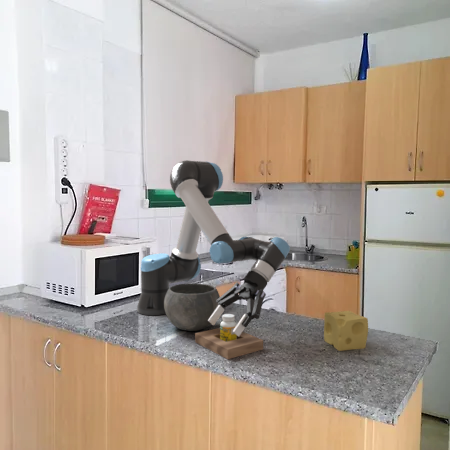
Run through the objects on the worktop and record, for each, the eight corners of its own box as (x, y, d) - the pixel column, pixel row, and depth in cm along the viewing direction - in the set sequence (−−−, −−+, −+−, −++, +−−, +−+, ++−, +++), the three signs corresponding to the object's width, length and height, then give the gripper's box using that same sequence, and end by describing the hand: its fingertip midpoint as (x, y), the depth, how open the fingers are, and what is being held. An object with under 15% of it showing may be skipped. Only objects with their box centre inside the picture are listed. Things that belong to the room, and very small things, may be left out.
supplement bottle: (240, 344, 137) (240, 315, 136) (228, 348, 133) (228, 318, 132) (228, 340, 140) (228, 312, 140) (216, 344, 137) (216, 315, 136)
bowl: (152, 328, 154) (152, 287, 153) (195, 317, 169) (195, 279, 168) (188, 342, 140) (188, 297, 139) (231, 328, 154) (231, 288, 153)
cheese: (338, 351, 132) (339, 320, 132) (322, 340, 143) (322, 311, 142) (367, 348, 135) (368, 318, 134) (349, 337, 145) (350, 309, 145)
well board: (195, 342, 140) (195, 333, 139) (228, 334, 148) (228, 325, 148) (227, 359, 125) (227, 349, 125) (263, 349, 134) (263, 340, 133)
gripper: (290, 290, 134) (254, 346, 127) (241, 277, 154) (207, 325, 147) (278, 275, 131) (240, 331, 123) (230, 264, 151) (194, 312, 143)
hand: (222, 328), depth 135 cm, fingers open, 13 cm apart
